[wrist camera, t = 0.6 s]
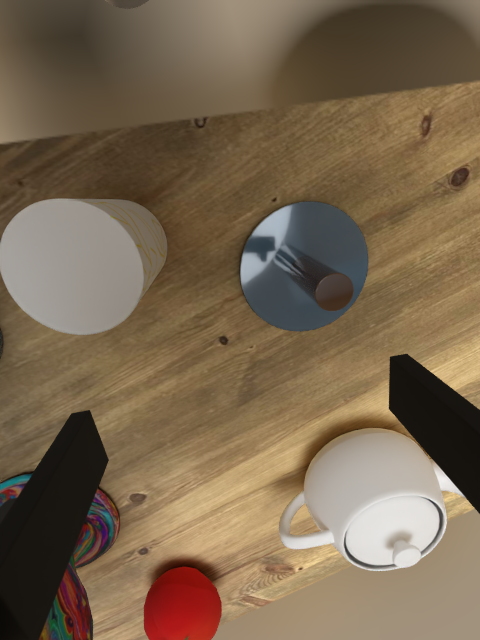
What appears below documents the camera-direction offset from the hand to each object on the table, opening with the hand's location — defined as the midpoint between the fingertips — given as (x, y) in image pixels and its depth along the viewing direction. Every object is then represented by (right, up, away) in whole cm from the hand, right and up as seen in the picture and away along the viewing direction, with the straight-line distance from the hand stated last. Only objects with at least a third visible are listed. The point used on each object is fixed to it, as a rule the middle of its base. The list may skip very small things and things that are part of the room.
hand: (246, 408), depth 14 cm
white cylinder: (-11, +11, +16) cm, 23 cm away
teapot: (+16, -15, +29) cm, 36 cm away
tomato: (-8, -33, +33) cm, 48 cm away
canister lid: (+6, +9, +18) cm, 21 cm away
